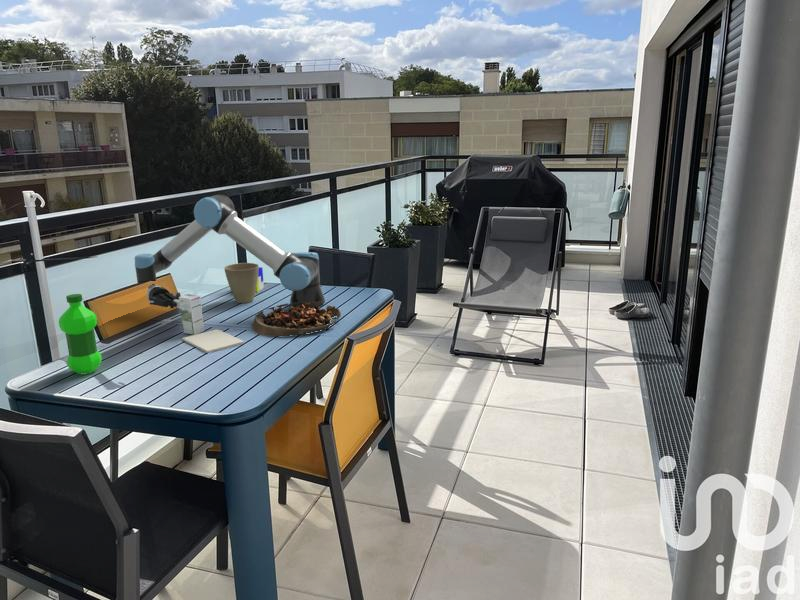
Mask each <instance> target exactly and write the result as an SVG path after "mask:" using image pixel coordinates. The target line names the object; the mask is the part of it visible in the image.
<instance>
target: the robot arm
mask: <svg viewBox="0 0 800 600" xmlns="http://www.w3.org/2000/svg"><path fill="white" fill-rule="evenodd" d="M193 216H194V218H195V219H194V220H193V221H192V222H190V223H189V224H188V225H187V226H186V227H185V228H184V229H182V230H181V231H180V232H179V233H177V234H176V236H174V237H173V238H172V239H171V240H169V241H168V242H167V243H166V244H165V245H164V246H163V247H161V248H160V249H159V250H158V251H157V252H155V253H154V254H152V253H140V254H136V255H135V257H134V267H135V274H136V282H137V284H138V283H142V282H146V281H149V280H151V281H156V280H157V273H160V272H162V271H164V270H167V269H168V268H170V267H171V265H173V264H172V263H174V262H175V261H176V260H177V259H179V258H180V257H181V256H182V255H183V254H184V253H185V252H187V251H188V250H189V249H191V247H192V246H193V247H194V245H195V244H196V243H198V242H199V241H200V240H201V239H202V238H204V237H205V236H206V235H207V234H208V233H210V232H211V231H212V230H213V232H216V233H217V234H218V235H226V236H227V237H228V238H230V239H231V240H232V241H234V242H236V243H235V244H238V245H239V246H240V247H242V248H243V249H244V250H246V251H247V252H249V253H250V254H251V255H253V257H255V258H257V259H258V260H259V261H261V262H262V263H264V264H265V265H266V266H267V267H269V268H270V269H272V271H273V275H274V276H275V277H276V278H277V279H279V281H280V284H281V285H282V287H284V288H285V289H286V290H288V291H291V295H290V299H289V306H290V308H291V307H296V306H297V305H299V303H301V302H310V305H311V306H312V309H313V308H314V307H315V306H314V305H316V304H318V303H322V306H324V305H325V304H326V299H325V295H324V293H323V290H322V288H321V277H320V258H319V254H318V253H317V252H311V251H308V252H307V251H304V252H303V251H301V252H291V251H290V252H285V251H284V250H283V249H281V248H280V247H278V246H277V245H276V244H274V242H272V241H271V240H270V239H268V238H266V237H265V236H264V235H262V234H261V232H258V231H257V230H256V229H254V227H252V226H251V225H249V224H247V223H246V222H245V221H244V220H243V219H241V218H239V217H238V212H237V211H236V210H235V204H234V203H233V201H232V199H231V198H230V197H229V196H226V195H223V194H215V195H212V196H206V197H203V198H201V199H199V200H198V201H197V202H196V204H195V205H194V208H193ZM137 284H136V285H137ZM180 296H182V295H181V293H180V292H177V293H175V294H174V293H171V292H170V291H169V290H168V289H167V288H165V287H163V286H160V285H158V284H157V285H155V284H152V285H150V286H149V287H148V290H147V298H148V300H149V301H150V302H149V301H148V302H149V305H150V306H151V305H152V306H158V307H162V308H163V307H164V308H168V307H170V308H169V309H174V308H176V309H179V310H180V304H179V297H180ZM324 303H325V304H324ZM323 304H324V305H323ZM322 306H321V305H320V307H322ZM301 307H302V306H301ZM304 307H305V305H304Z"/></svg>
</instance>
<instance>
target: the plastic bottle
mask: <svg viewBox="0 0 800 600" xmlns="http://www.w3.org/2000/svg"><path fill="white" fill-rule="evenodd" d="M65 297H66V298H65V299H66V303H68V304H69V307H68V308H67V309H66V310H65V311H64V312H63V313H62V314H61V316H60V317H59V318H58V326H59V328H60V331H62V332H63V333H65V337H66V338H65V339H66V344H67V350H68V356H67V360H66V365H67V367H68V368H69V370H71V371H73V372H75V373H76V374H78V373H79V374H78V375H85V374H84V373H89V374H91V373H90V372H92V373H94V372H95V371H96V370H97V369H98V368H99V367H100V364H101V363H102V360H103V357H102V354H101V352H100V351H99V350H98V347H97V340H96V335H95V327H96V326H97V324H98V318H97V314H96V313H95V312H94V311H92V310H90V308H87V307H85V306H84V305H82V301H83V300H84V299H83V295H82V293H73V294H69V295H66V296H65ZM93 371H94V372H93ZM81 373H83V374H81Z"/></svg>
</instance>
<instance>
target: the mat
mask: <svg viewBox="0 0 800 600" xmlns="http://www.w3.org/2000/svg"><path fill="white" fill-rule="evenodd" d="M181 339H182V341H183V342H185V343H187V344H189V345H191V346H192V347H195V348H197V349H199V350H201V351H202V352H204V353H207V354H211V353H215V352H218V351H221V350H225V349H228V348H232V347H236V346H237V347H238V346H240V345H244V344H245V341H244V340H242V339H240V338H238V337H236V336H233V335H231V334H229V333H227V332H224V331H223V330H220V329H214V330H209V331H204V332H201V333H199V334H196V335H189V336H185V337H182V338H181Z"/></svg>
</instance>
